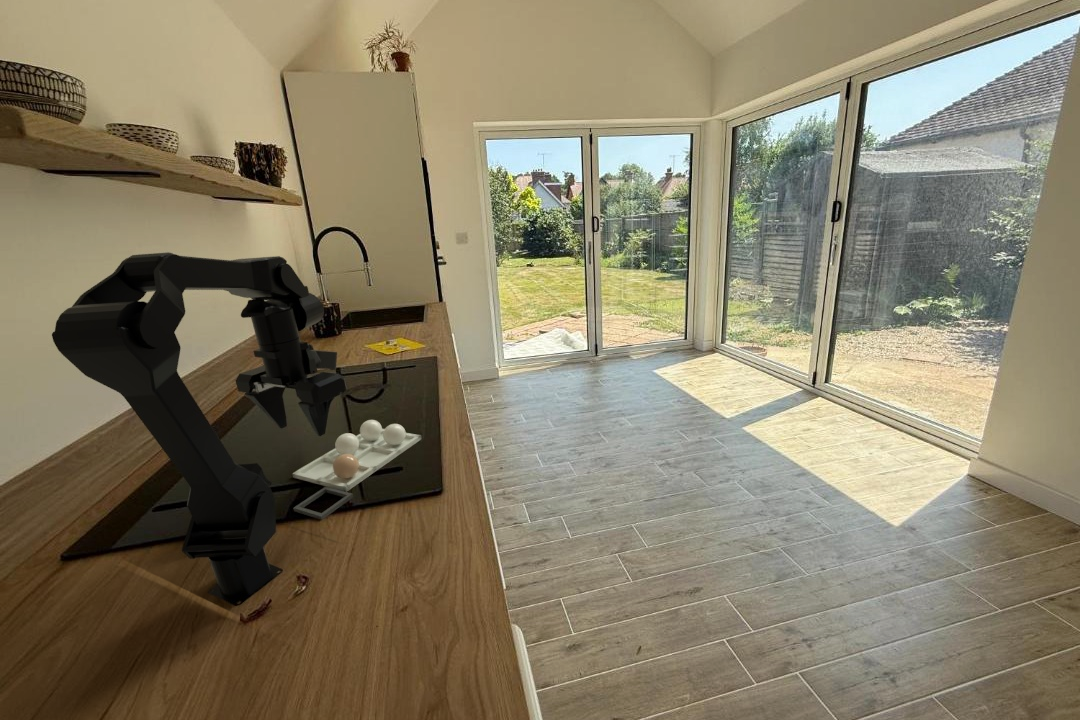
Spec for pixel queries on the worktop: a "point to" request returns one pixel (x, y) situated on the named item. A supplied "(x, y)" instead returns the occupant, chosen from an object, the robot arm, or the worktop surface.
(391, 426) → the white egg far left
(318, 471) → the egg tray
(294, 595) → the worktop surface
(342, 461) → the brown egg
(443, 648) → the worktop surface
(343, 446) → the white egg mid
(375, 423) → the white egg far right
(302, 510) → the gray rectangular frame
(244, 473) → the robot arm
